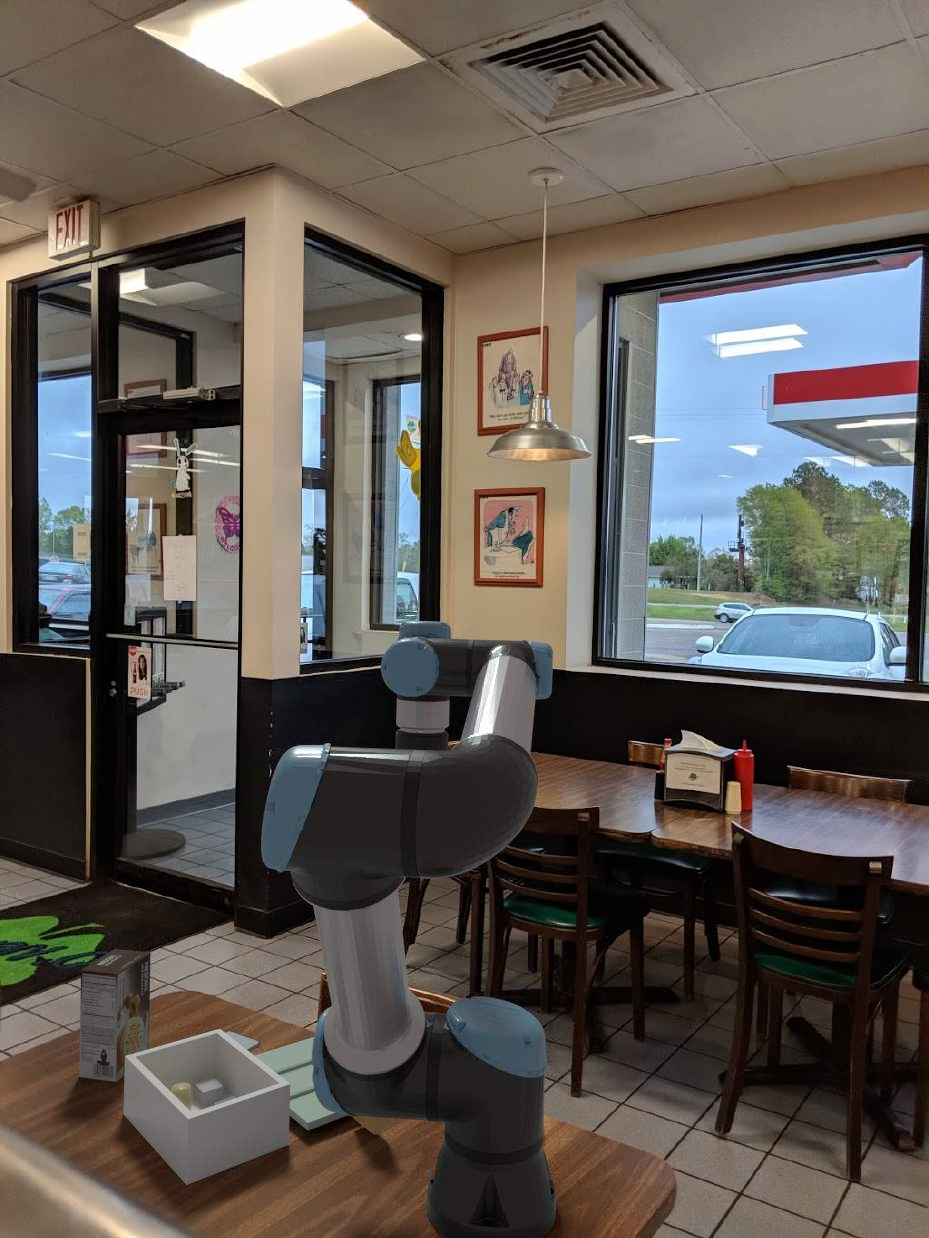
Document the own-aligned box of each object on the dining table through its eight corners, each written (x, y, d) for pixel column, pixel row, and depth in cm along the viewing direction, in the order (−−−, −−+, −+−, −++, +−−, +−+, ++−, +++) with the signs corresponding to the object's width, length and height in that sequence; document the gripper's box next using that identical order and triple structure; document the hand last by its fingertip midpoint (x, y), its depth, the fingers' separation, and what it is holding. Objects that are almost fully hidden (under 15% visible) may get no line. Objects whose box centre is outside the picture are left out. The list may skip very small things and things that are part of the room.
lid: (424, 1122, 130) (426, 1048, 130) (332, 1161, 121) (335, 1081, 121) (319, 1048, 151) (321, 984, 151) (233, 1076, 141) (235, 1008, 141)
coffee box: (112, 1049, 149) (114, 947, 148) (149, 1054, 147) (152, 951, 147) (77, 1077, 140) (79, 968, 139) (116, 1083, 138) (119, 973, 138)
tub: (288, 1144, 124) (290, 1083, 124) (186, 1184, 115) (188, 1119, 115) (218, 1083, 139) (220, 1028, 139) (123, 1114, 130) (124, 1055, 130)
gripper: (470, 721, 147) (466, 858, 148) (333, 731, 131) (329, 885, 131) (504, 726, 142) (499, 869, 142) (365, 738, 125) (360, 899, 126)
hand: (417, 877), depth 137 cm, fingers open, 13 cm apart
